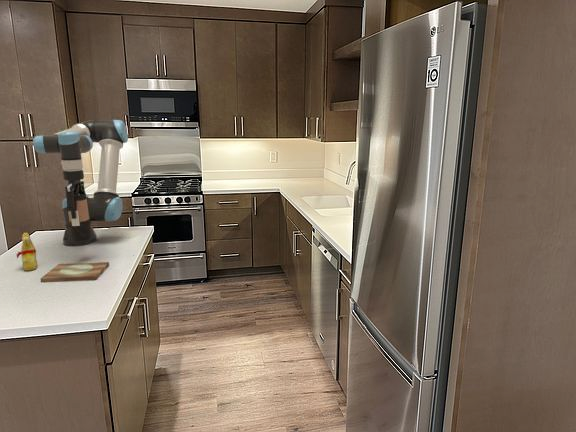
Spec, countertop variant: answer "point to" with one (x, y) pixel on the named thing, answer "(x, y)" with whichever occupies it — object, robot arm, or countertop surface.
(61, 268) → the walnut board
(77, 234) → the travel mug
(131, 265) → the countertop surface
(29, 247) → the chocolate bunny
